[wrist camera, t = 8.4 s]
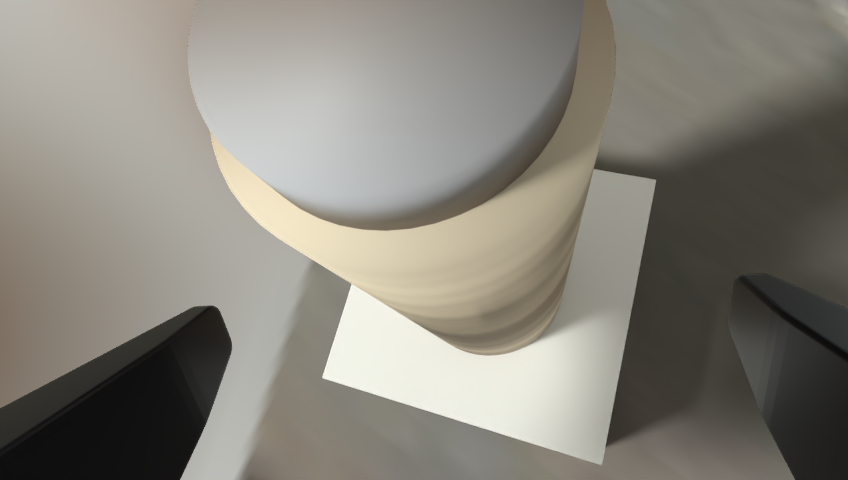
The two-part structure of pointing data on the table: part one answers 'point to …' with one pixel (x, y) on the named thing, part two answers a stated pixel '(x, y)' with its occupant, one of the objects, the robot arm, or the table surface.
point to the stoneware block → (531, 365)
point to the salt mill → (415, 145)
